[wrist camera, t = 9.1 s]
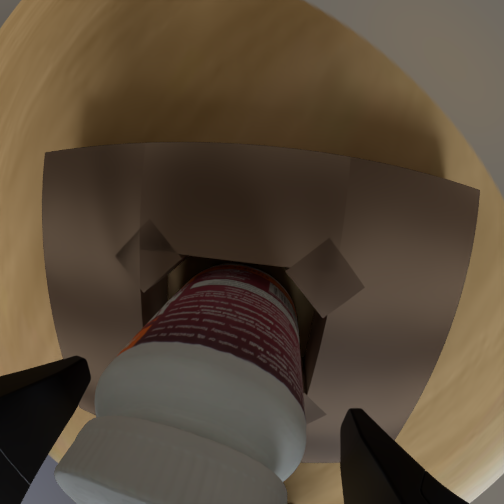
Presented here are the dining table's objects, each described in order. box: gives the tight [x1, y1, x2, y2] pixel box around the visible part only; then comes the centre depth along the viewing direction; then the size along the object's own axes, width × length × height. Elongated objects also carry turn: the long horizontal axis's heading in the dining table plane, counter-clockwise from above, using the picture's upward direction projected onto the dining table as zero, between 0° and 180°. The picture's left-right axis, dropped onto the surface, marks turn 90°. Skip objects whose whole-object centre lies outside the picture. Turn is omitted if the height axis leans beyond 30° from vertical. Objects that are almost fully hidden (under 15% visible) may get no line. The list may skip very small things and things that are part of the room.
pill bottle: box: [54, 263, 306, 504], centre depth 8 cm, size 6×6×11 cm
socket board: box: [42, 142, 480, 463], centre depth 12 cm, size 16×20×3 cm
